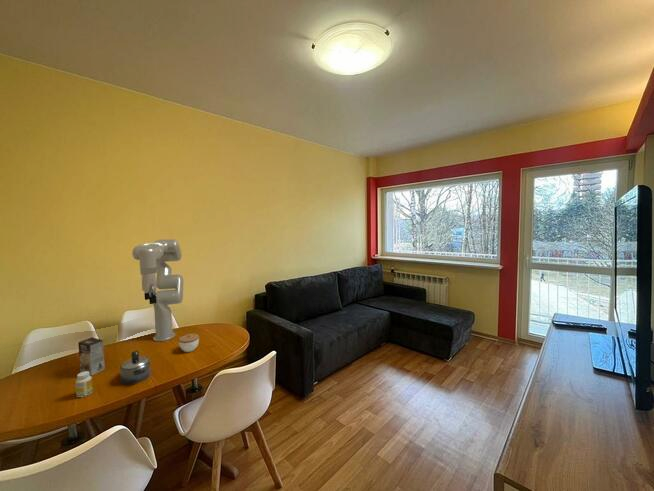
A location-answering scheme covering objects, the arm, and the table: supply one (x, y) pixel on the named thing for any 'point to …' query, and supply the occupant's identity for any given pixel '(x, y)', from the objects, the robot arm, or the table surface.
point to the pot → (135, 374)
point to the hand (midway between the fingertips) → (150, 301)
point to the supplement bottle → (83, 384)
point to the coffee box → (91, 355)
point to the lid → (135, 361)
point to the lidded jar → (189, 342)
